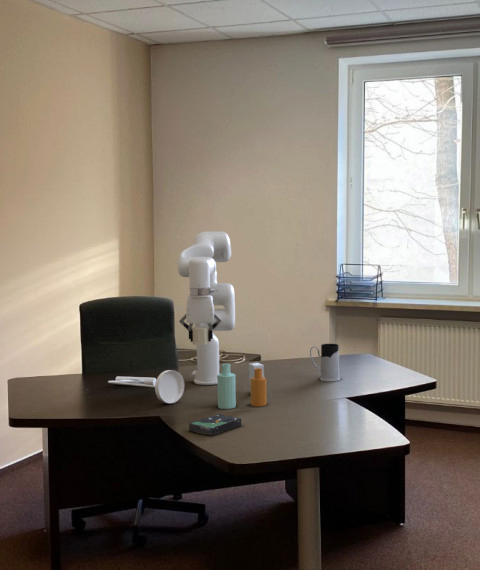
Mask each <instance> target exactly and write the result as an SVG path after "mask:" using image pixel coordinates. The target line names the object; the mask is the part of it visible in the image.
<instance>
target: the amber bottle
mask: <svg viewBox="0 0 480 570" xmlns="http://www.w3.org/2000/svg"><path fill="white" fill-rule="evenodd" d="M250 383H251V393H250V406H252V407H257V408H258V407H264V406H267V378H266V377H265V376H264V377H262V369H260V368H257V369H254V377H252V378H250ZM250 383H249V384H250Z"/></svg>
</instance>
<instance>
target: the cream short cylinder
mask: <svg viewBox="0 0 480 570" xmlns="http://www.w3.org/2000/svg"><path fill="white" fill-rule="evenodd" d="M192 330H193V342H192V344H193V345H196V346H197V345H205V344H209V332H208V331H209V328H208V327H207V326H196V327H195V326H192Z"/></svg>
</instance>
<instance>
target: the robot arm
mask: <svg viewBox="0 0 480 570" xmlns="http://www.w3.org/2000/svg"><path fill="white" fill-rule="evenodd" d="M231 258H232V246H231V239H230V237H229V235H228V233H227V232H225V231H221V230H219V231H201V232H198V233H197V234H195V236H194V238H193V243H191V244H190V246H189V247H188V248H185V249H183V250H182V251H181V252H180V254H179V256H178V261H177V272H178V275H179V276H180V277H182V278H188V282H189V283H188V285H189V286H188V287H189V290H188V292H189V293H188V294H189V295H188V296H187V299H186V310H185V314H184V315H183V316H182V317H181V318H180V319H179V320H178V321H179V323H180V325H182V326H183V327H184V328H185V329H186V330H187V331H188V340H190V343H193V327H196V326H207V327H208V328H209V331H208V332H209V344H205V345H196V370H193V371H192V372H191V376H194V379H193V383H194V384H195V385H199V386H200V385H201V386H210V385H217V375H218V374H220V341H219V338H218V337H217V336H216V334H214V332H229V331H233V330H234V329H235V326H236V294H235V288H234V286H233V285H232V284H231V283H228V282H218V272H217V263H226V262H229V261H230V259H231ZM215 306H223V307H224V308H215Z"/></svg>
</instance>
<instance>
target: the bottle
mask: <svg viewBox="0 0 480 570" xmlns="http://www.w3.org/2000/svg"><path fill="white" fill-rule="evenodd" d="M216 385H217V386H216V387H217V391H216V392H217V408H218V409H221V410H231V409H234V408H236V406H237V399H236V396H237V395H236V393H237V392H236V391H237V390H236V373H232V372H231V363H222V364H221V373H219V374H218V375H217V384H216Z"/></svg>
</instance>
